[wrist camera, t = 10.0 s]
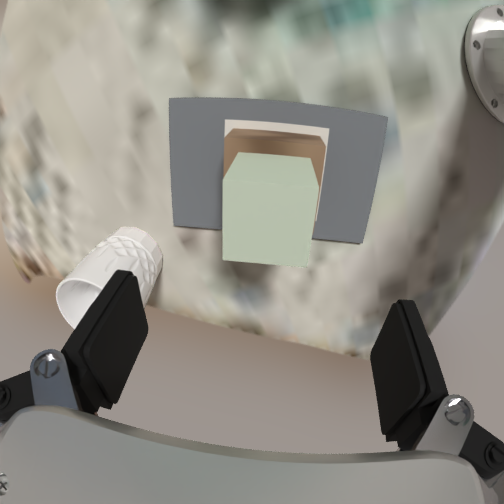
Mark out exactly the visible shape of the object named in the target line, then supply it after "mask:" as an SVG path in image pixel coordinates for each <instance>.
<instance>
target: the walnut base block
mask: <svg viewBox="0 0 504 504" xmlns="http://www.w3.org/2000/svg"><path fill="white" fill-rule="evenodd" d="M238 152H243V153H259V154H272V155H284V156H294V157H304V158H311V162H312V165H313V168H314V172H315V175H316V178H317V182H318V185H319V193H318V200H317V207H318V201H319V194H320V188H321V181H322V174H323V166H324V159H325V152H326V145H325V144H324V142H323V140H322V139H321V137H320V136H317V135H309V134H300V133H291V132H280V131H269V130H255V129H239V128H233V129H232V130H231V131H230V132H229V133H228V134H227V135H226V136H225V137H224V175H223V178H224V177H225V175H226V173H227V171H228V170H229V168H230V166H231V164H232V163H233V161H234V159H235V157H236V156H237V154H238ZM317 207H316V214H317ZM316 214H315V220H316ZM315 220H314V226H315ZM313 232H314V227H313ZM312 235H313V233H312Z"/></svg>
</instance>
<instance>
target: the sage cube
mask: <svg viewBox="0 0 504 504" xmlns="http://www.w3.org/2000/svg"><path fill="white" fill-rule="evenodd" d="M318 193H319V185H318V182H317V178H316V175H315V172H314V168H313V165H312V162H311V158H304V157H294V156H284V155H272V154H259V153H243V152H238V154H237V156H236V157H235V159H234V161H233V163H232V164H231V166H230V168H229V170H228V171H227V173H226V175H225V177H224V178H223V214H222V232H223V260H228V261H238V262H249V263H260V264H271V265H282V266H294V267H305V268H307V264H308V258H309V252H310V246H311V240H312V233H313V227H314V220H315V214H316V207H317V200H318Z"/></svg>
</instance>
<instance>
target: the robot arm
mask: <svg viewBox="0 0 504 504" xmlns="http://www.w3.org/2000/svg"><path fill="white" fill-rule="evenodd" d="M465 58H466V63H467V68H468V72H469V75H470V78H471V82H472V84H473V86H474V89H475V91H476V93H477V95H478V97H479V98H480V100H481V102H482V103H483V105H484V106H485V107H486V109H487V110H488V111H489V112H490V114H492V115H493V116H494V117H495V118H496V119H497V120H498V121H500V122H502V123H503V124H504V5H491V6H486V7H484V8H482V9H480V10H478V11H477V12H476V13H475V14H474V15H473V17H472V19H471V20H470V22H469V24H468V28H467V31H466V37H465ZM147 334H148V324H147V319H146V315H145V311H144V307H143V302H142V298H141V293H140V288H139V283H138V279H137V277H136V276H134V274H133V272H131V271H126V270H119V269H118V270H116V271H115V272H114V274H113V275H112V277H111V278H110V279H109V281H108V282H107V284H106V285H105V286H104V288H103V289H102V291H101V292H100V294H99V295H98V296H97V298H96V299H95V301H94V302H93V303H92V304H91V305H90V307H89V308H88V310H87V311H86V313H85V314H84V316H83V317H82V319H81V320H80V322H79V323H78V325H77V327H76V328H75V330H74V331H73V333H72V334H71V336H70V337H69V339H68V341H67V342H66V344H65V345H64V347H63V349H62V350H61V352H60V351H58V350H55V349H48V350H44V351H42V352H40V353H38V354H37V355H36V356H35V357H34V359H33V360H32V362H31V365H30V371H27V372H25V373H22V374H19V375H17V376H14V377H12V378H9V379H6V380H4V381H1V382H0V504H504V443H503V442H502V441H501V440H499V439H498V438H496V437H495V436H493V435H492V434H491V433H489V432H488V431H487V430H485V429H484V428H482V427H481V426H480V425H478V424H477V423H476V422H474V421H473V419H474V410H473V407H472V405H471V404H470V402H469V401H468V400H467V399H466V398H464V397H462V396H460V395H454V394H453V395H449V394H448V391H447V388H446V384H445V381H444V378H443V375H442V372H441V368H440V366H439V362H438V360H437V357H436V354H435V351H434V348H433V345H432V343H431V340H430V338H429V337H428V335H427V332H426V330H425V327H424V324H423V322H422V319H421V317H420V314H419V312H418V309H417V307H416V304H415V302H414V301H413V300H398V301H397V302H396V303H393V304H392V306H391V308H390V311H389V313H388V316H387V318H386V320H385V322H384V325H383V327H382V329H381V331H380V333H379V336H378V338H377V340H376V342H375V344H374V346H373V348H372V351H371V355H370V360H371V366H372V372H373V378H374V384H375V390H376V396H377V403H378V410H379V417H380V425H381V431H382V434H383V435H386V442H389V441H397V443H398V447H399V448H398V449H397V451H396V452H381V453H356V454H305V453H286V452H272V451H261V450H251V449H243V448H235V447H227V446H221V445H214V444H208V443H202V442H197V441H192V440H187V439H181V438H177V437H172V436H168V435H164V434H159V433H155V432H151V431H147V430H143V429H140V428H136V427H132V426H129V425H125V424H122V423H118V422H115V421H111V420H108V419H105V418H102V417H98V414H97V411H98V409H99V407H100V406H101V407H103V408H107V409H111V408H112V405H113V403H114V404H116V403H117V402H118V400H119V398H120V395H121V393H122V390H123V388H124V386H125V383H126V381H127V379H128V377H129V374H130V372H131V370H132V367H133V365H134V363H135V361H136V358H137V356H138V354H139V352H140V350H141V347H142V345H143V343H144V341H145V339H146V337H147Z"/></svg>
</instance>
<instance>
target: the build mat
mask: <svg viewBox="0 0 504 504" xmlns="http://www.w3.org/2000/svg"><path fill="white" fill-rule="evenodd" d="M387 121H388V117H385V116H380V115H375V114H370V113H365V112H359V111H354V110H348V109H341V108H335V107H328V106H321V105H313V104H305V103H296V102H286V101H274V100H261V99H243V98H169V139H170V169H171V190H172V207H173V221H174V225H175V226H187V227H199V228H211V229H222V214H223V175H224V137H225V136H226V135H227V134H228V133H229V132H230V131H231V130H232V129H233V128H239V129H255V130H269V131H280V132H291V133H300V134H309V135H317V136H320V137H321V139H322V140H323V142H324V144H325V145H326V152H325V159H324V166H323V174H322V181H321V188H320V194H319V201H318V207H317V214H316V220H315V226H314V232H313V235H312V238H316V239H326V240H336V241H345V242H354V243H363V239H364V235H365V231H366V227H367V223H368V219H369V214H370V210H371V206H372V201H373V197H374V192H375V187H376V182H377V177H378V172H379V167H380V162H381V157H382V151H383V145H384V139H385V133H386V127H387Z"/></svg>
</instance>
